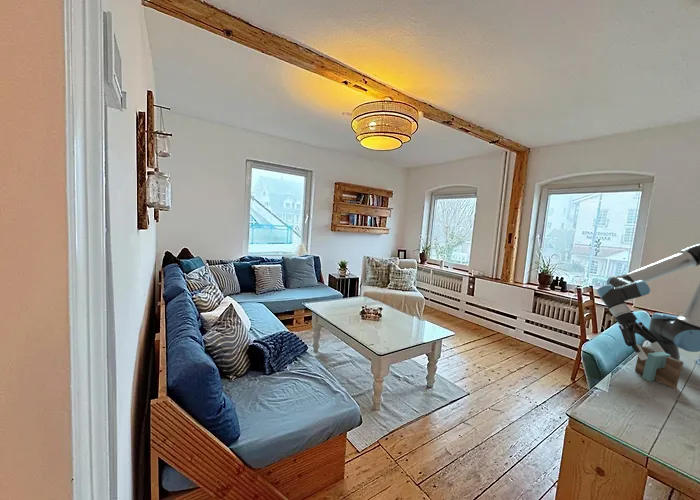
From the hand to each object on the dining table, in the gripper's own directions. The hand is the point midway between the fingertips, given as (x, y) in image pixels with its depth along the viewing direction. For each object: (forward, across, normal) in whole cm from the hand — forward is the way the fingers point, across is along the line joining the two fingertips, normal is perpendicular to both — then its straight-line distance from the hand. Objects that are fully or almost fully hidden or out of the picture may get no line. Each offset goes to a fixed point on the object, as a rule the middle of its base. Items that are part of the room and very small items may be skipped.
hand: (654, 358), depth 137 cm
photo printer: (+3, -13, -9) cm, 16 cm away
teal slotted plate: (+8, 0, -6) cm, 9 cm away
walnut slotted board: (+8, 0, -6) cm, 9 cm away
